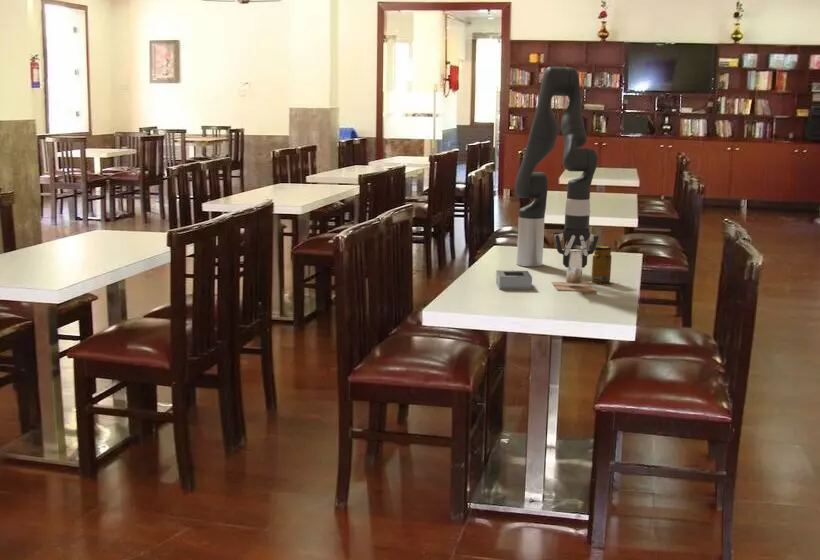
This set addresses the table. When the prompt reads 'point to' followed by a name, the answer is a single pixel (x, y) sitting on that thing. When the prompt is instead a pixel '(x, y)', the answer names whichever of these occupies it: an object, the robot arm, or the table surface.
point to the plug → (574, 266)
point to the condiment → (602, 266)
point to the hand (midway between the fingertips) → (574, 266)
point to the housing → (513, 280)
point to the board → (574, 287)
